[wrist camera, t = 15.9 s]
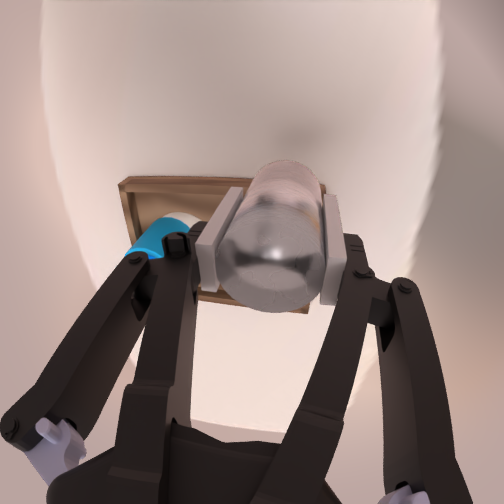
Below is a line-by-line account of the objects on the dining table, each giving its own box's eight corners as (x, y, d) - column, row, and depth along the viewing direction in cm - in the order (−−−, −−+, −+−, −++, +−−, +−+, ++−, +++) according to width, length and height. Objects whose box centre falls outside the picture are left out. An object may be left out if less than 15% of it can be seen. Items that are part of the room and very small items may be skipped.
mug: (150, 256, 46) (127, 288, 39) (147, 212, 41) (119, 241, 34) (220, 272, 45) (204, 309, 38) (224, 227, 40) (206, 262, 33)
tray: (128, 176, 39) (117, 184, 37) (324, 184, 35) (326, 194, 33) (151, 280, 51) (144, 291, 48) (308, 300, 46) (307, 314, 44)
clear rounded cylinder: (250, 158, 19) (210, 217, 12) (324, 163, 18) (334, 229, 11) (250, 221, 22) (218, 305, 15) (316, 228, 21) (316, 317, 14)
